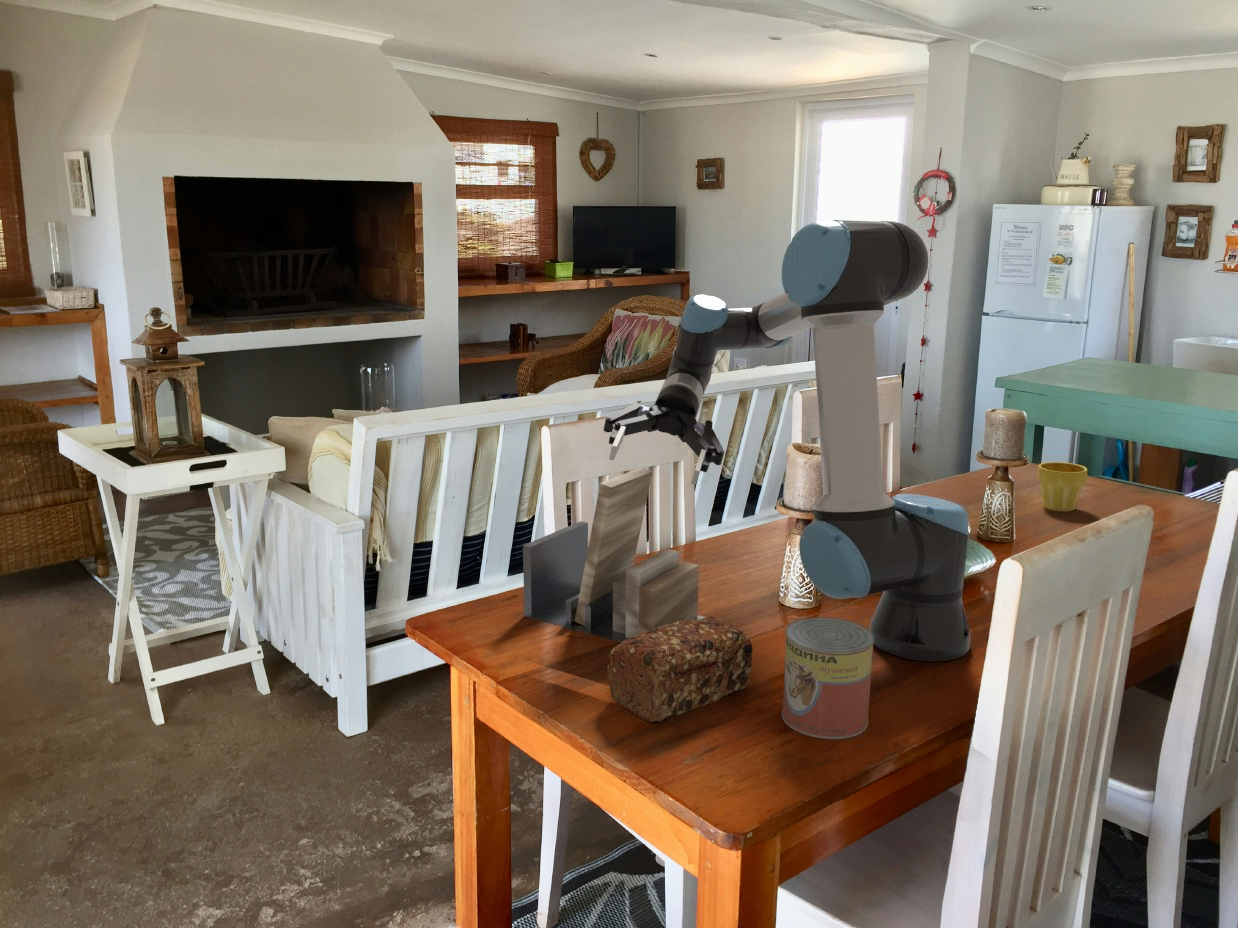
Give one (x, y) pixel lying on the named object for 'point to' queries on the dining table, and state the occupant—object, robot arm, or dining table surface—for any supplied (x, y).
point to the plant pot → (1061, 484)
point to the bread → (679, 667)
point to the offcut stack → (655, 594)
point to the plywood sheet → (613, 535)
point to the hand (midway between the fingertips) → (653, 465)
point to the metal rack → (564, 583)
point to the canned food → (827, 677)
